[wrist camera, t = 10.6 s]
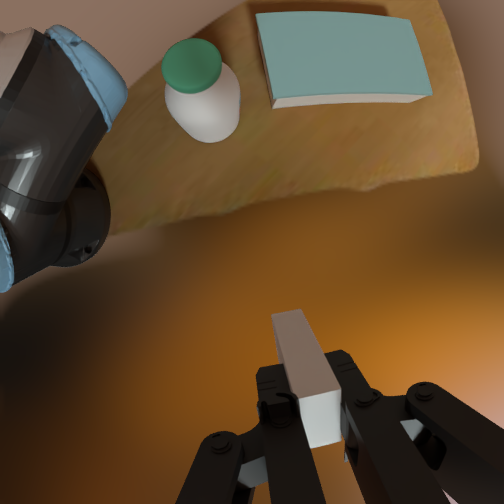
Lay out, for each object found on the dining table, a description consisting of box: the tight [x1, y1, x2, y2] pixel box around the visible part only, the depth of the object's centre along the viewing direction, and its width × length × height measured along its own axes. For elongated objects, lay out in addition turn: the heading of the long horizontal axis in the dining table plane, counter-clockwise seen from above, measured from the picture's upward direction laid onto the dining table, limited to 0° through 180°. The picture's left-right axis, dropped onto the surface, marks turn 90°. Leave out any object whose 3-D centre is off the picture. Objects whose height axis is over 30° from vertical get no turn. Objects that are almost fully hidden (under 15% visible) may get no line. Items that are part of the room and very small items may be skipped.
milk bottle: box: [161, 38, 240, 143], centre depth 29 cm, size 8×8×20 cm
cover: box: [255, 11, 433, 99], centre depth 32 cm, size 23×13×1 cm, turn 99°
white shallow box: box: [257, 31, 425, 109], centre depth 35 cm, size 22×12×5 cm, turn 99°
